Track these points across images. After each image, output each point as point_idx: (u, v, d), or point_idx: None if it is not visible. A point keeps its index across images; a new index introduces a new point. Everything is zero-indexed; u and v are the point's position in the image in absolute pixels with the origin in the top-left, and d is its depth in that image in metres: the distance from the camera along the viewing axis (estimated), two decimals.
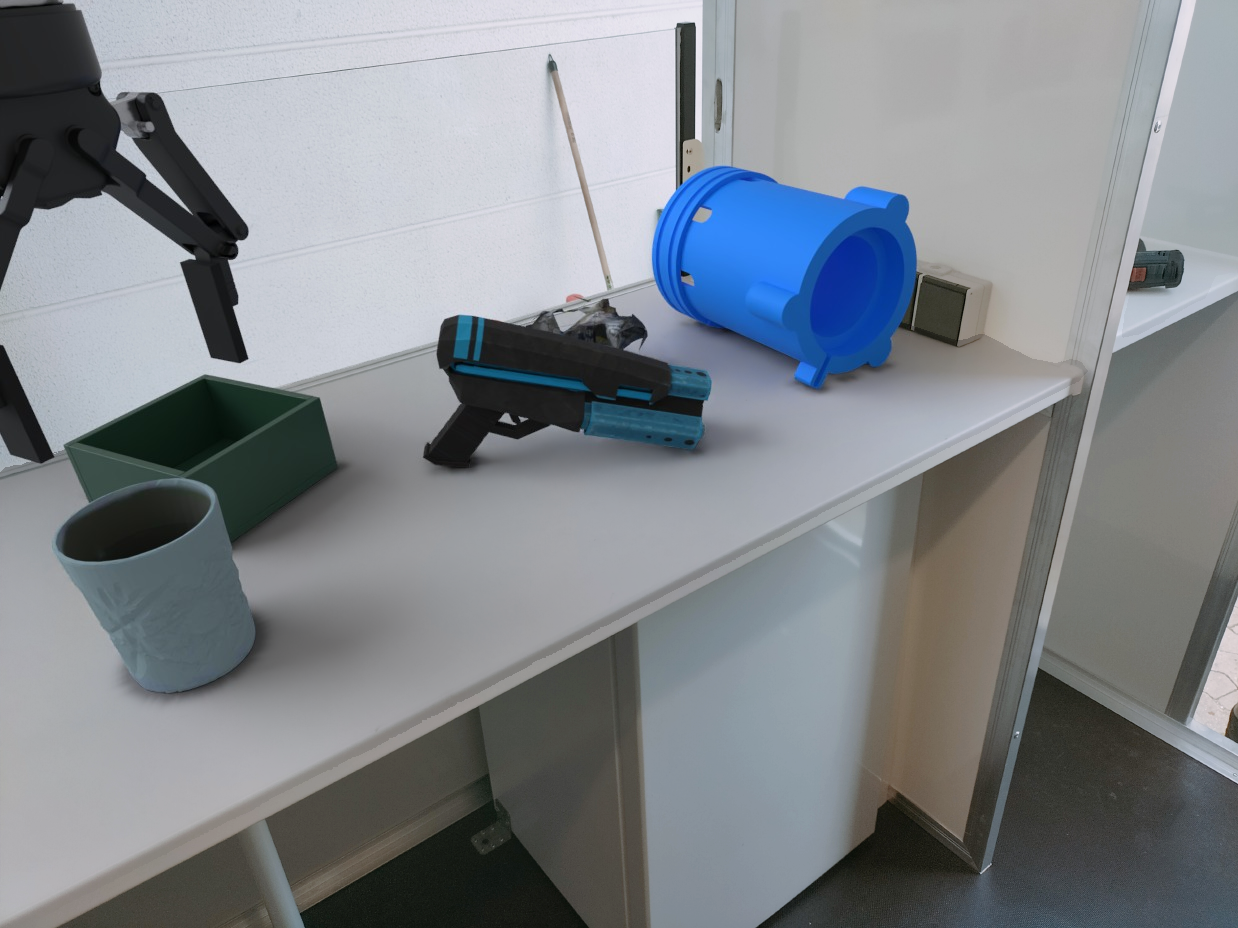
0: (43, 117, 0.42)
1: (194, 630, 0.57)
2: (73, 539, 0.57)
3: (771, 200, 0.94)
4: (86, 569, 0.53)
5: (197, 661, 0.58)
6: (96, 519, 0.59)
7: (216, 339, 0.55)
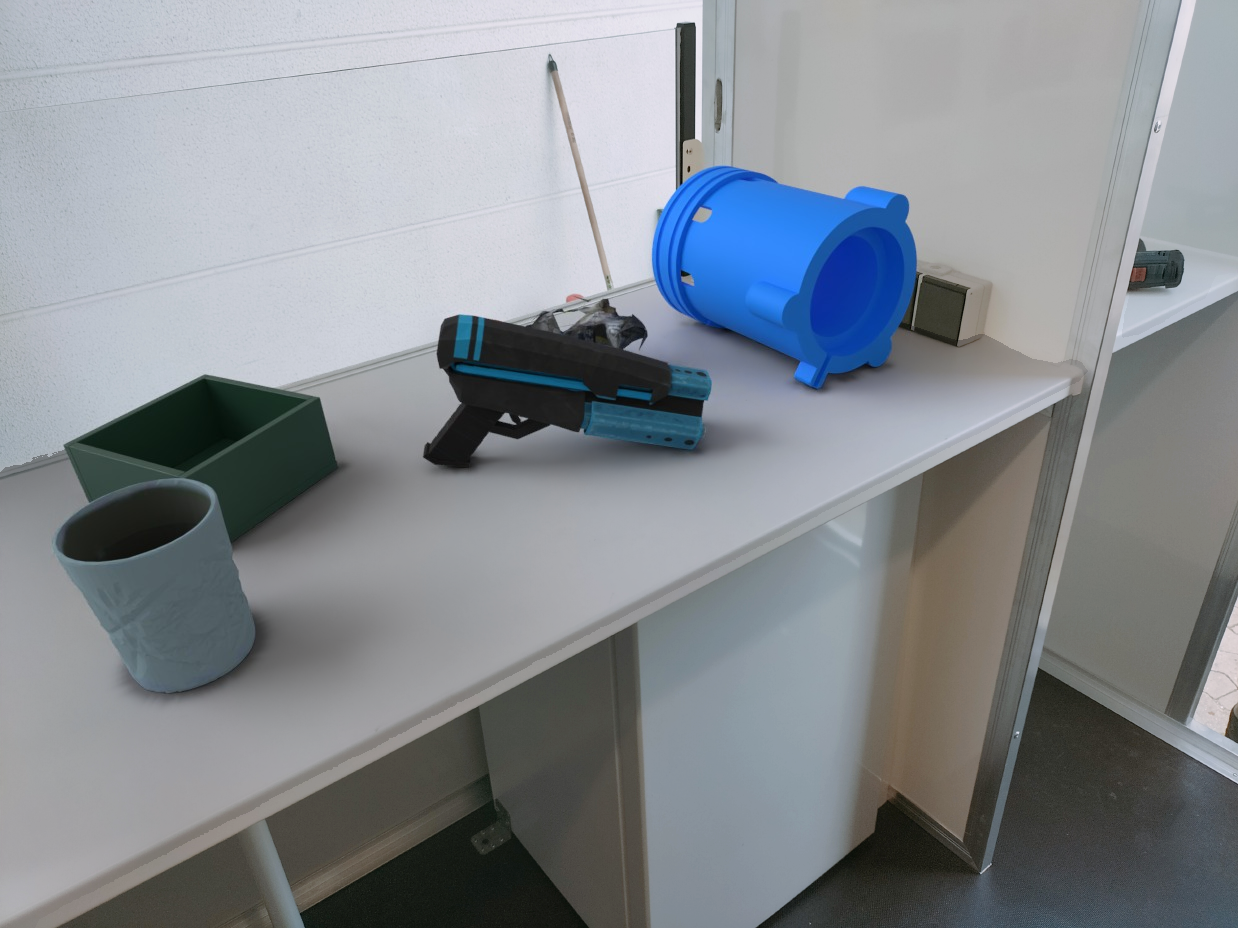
0: None
1: (194, 630, 0.57)
2: (73, 539, 0.57)
3: (771, 200, 0.94)
4: (85, 569, 0.53)
5: (197, 661, 0.58)
6: (96, 519, 0.59)
7: None
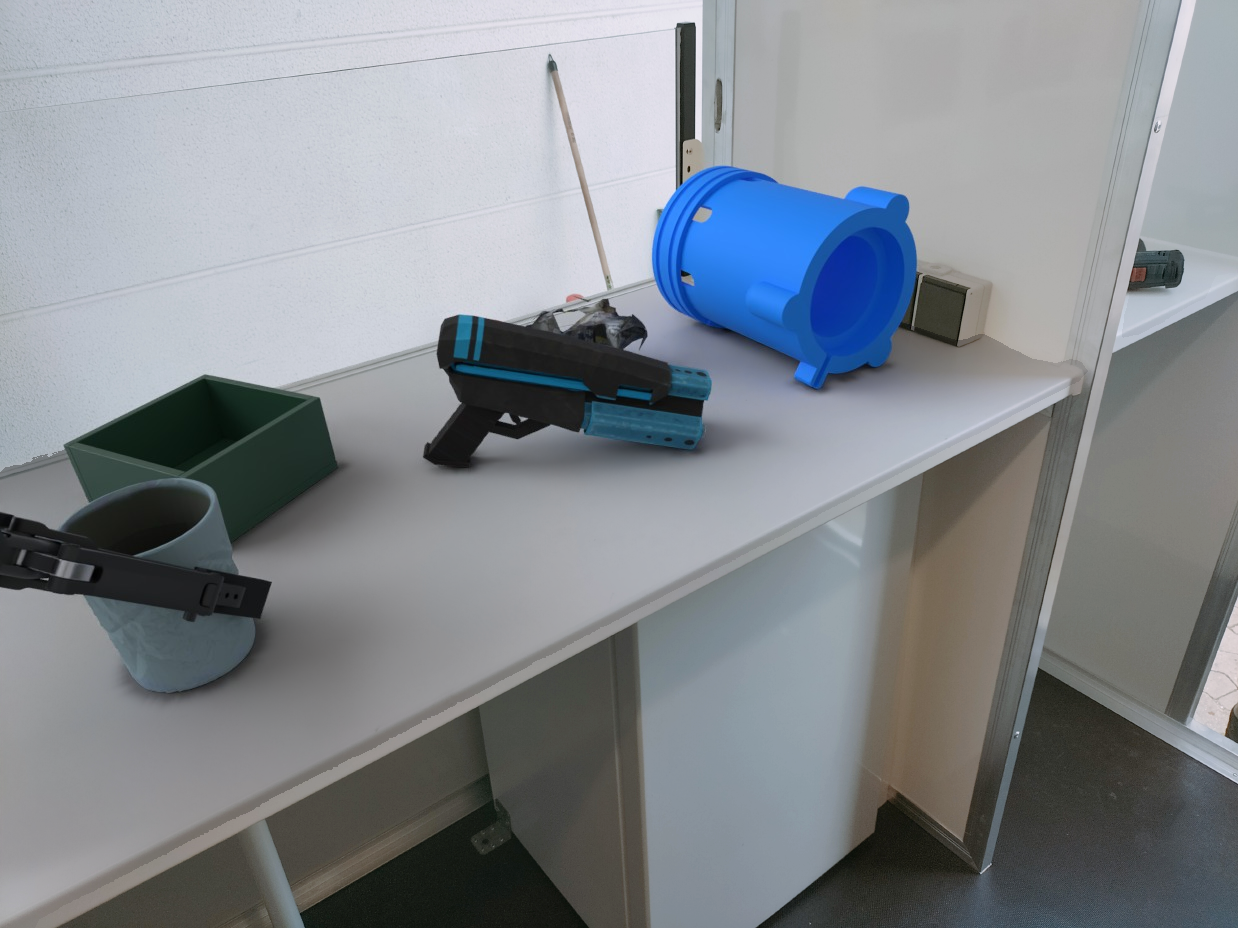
0: None
1: (194, 630, 0.57)
2: None
3: (771, 200, 0.94)
4: None
5: (197, 660, 0.58)
6: (96, 519, 0.59)
7: None
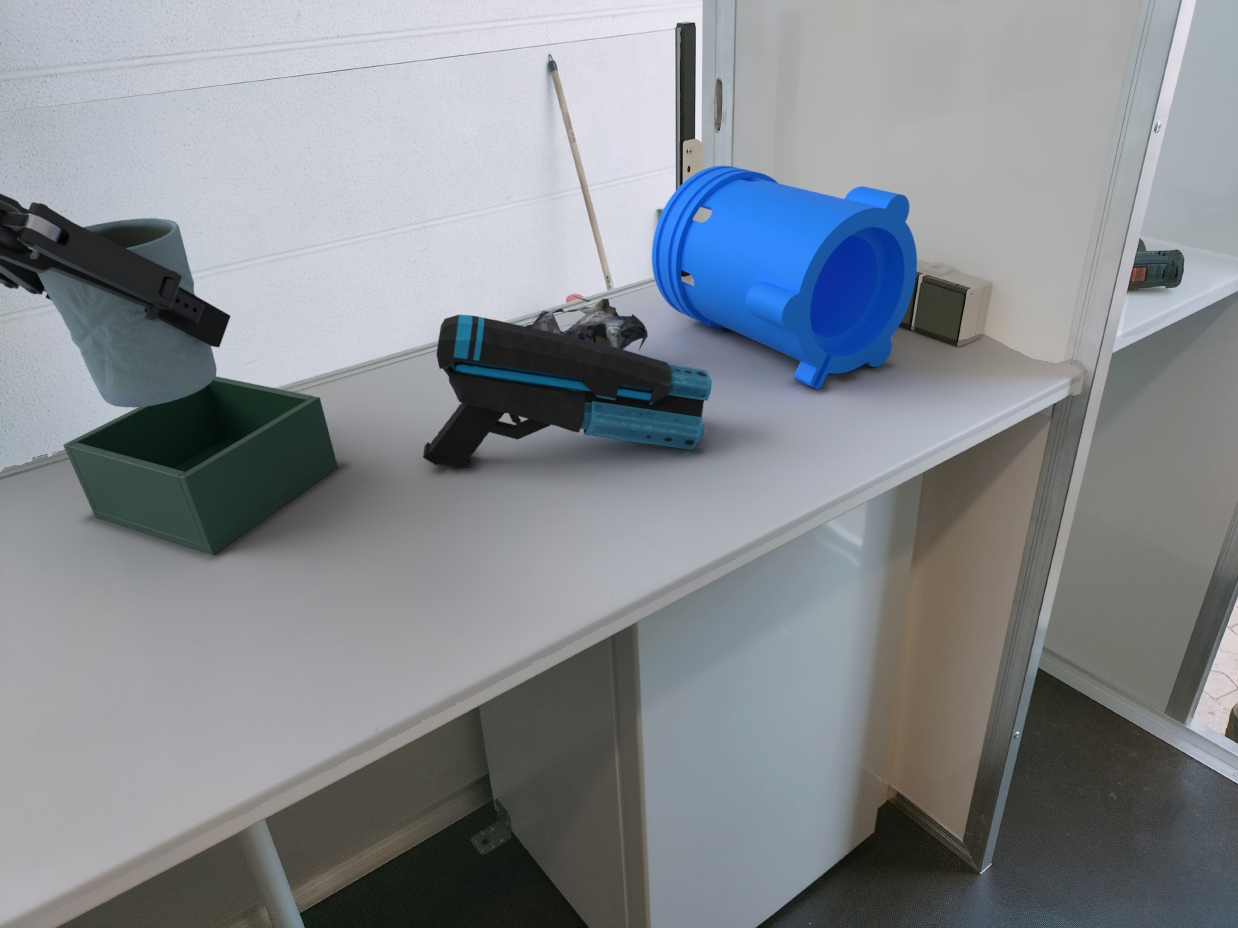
0: None
1: (157, 342, 0.63)
2: None
3: (771, 200, 0.94)
4: None
5: (160, 375, 0.64)
6: None
7: None
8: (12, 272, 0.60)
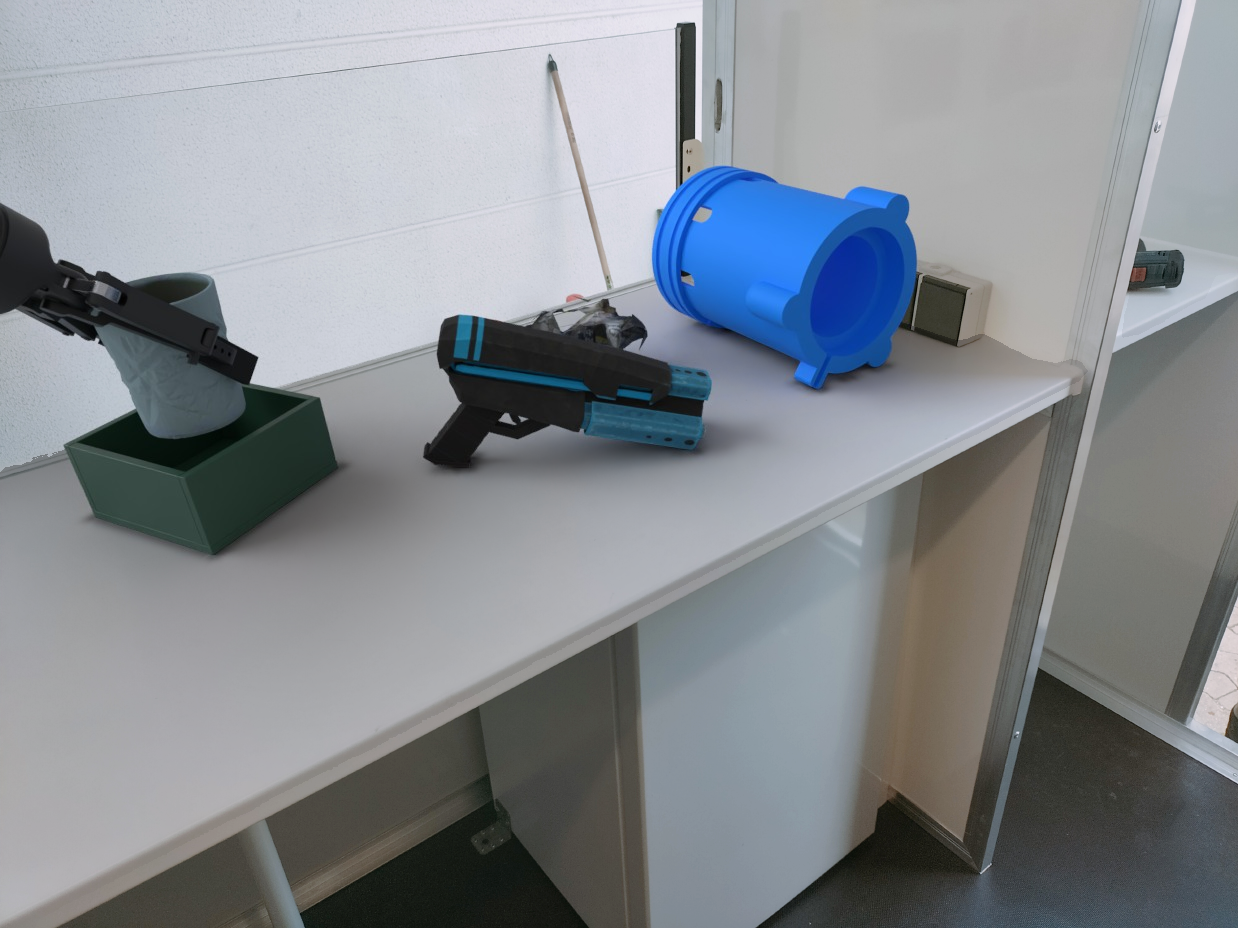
0: None
1: (196, 382, 0.72)
2: None
3: (771, 200, 0.94)
4: None
5: (199, 410, 0.74)
6: None
7: None
8: (72, 324, 0.70)
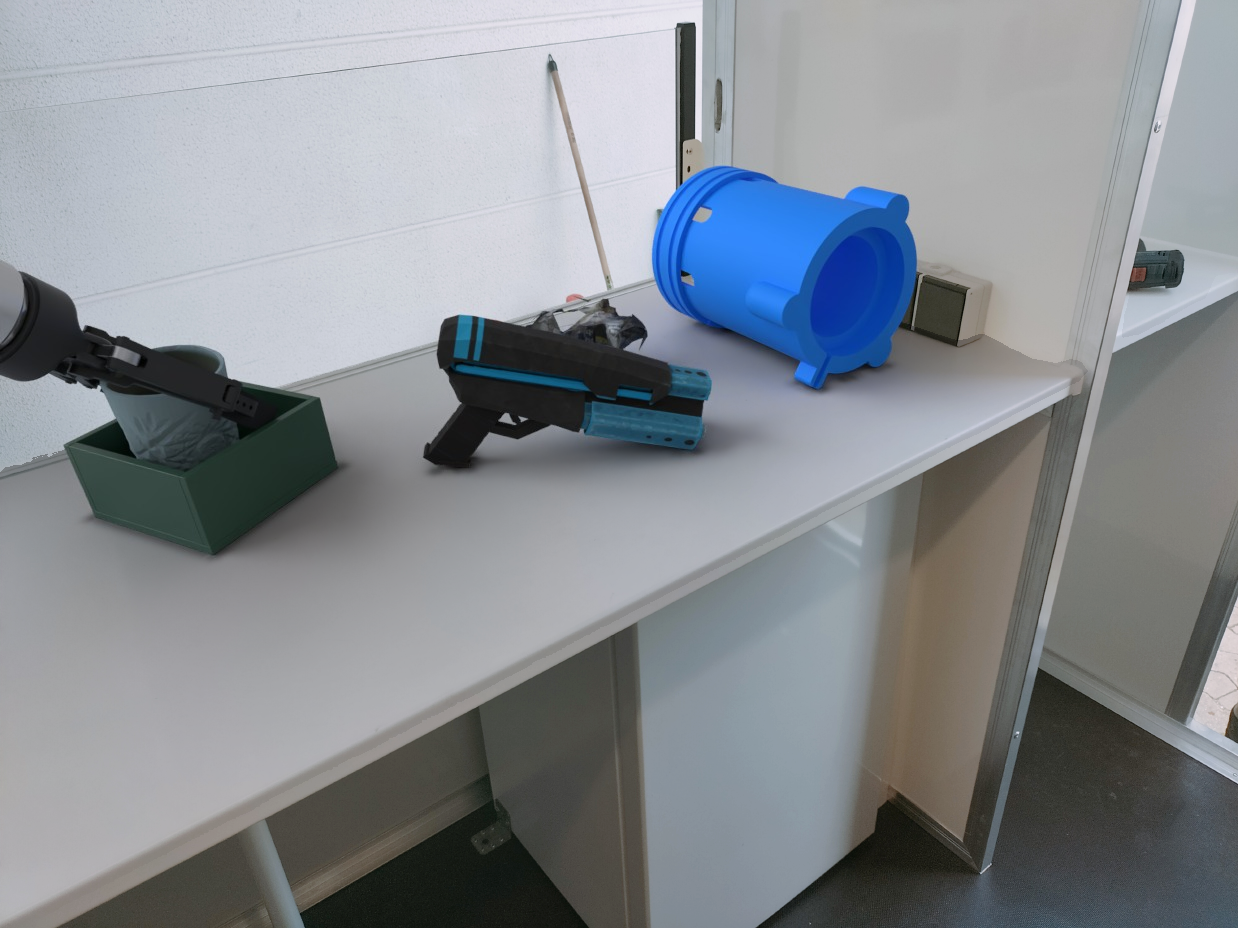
0: None
1: (202, 457, 0.76)
2: None
3: (771, 200, 0.94)
4: (126, 400, 0.71)
5: None
6: None
7: None
8: (84, 378, 0.72)
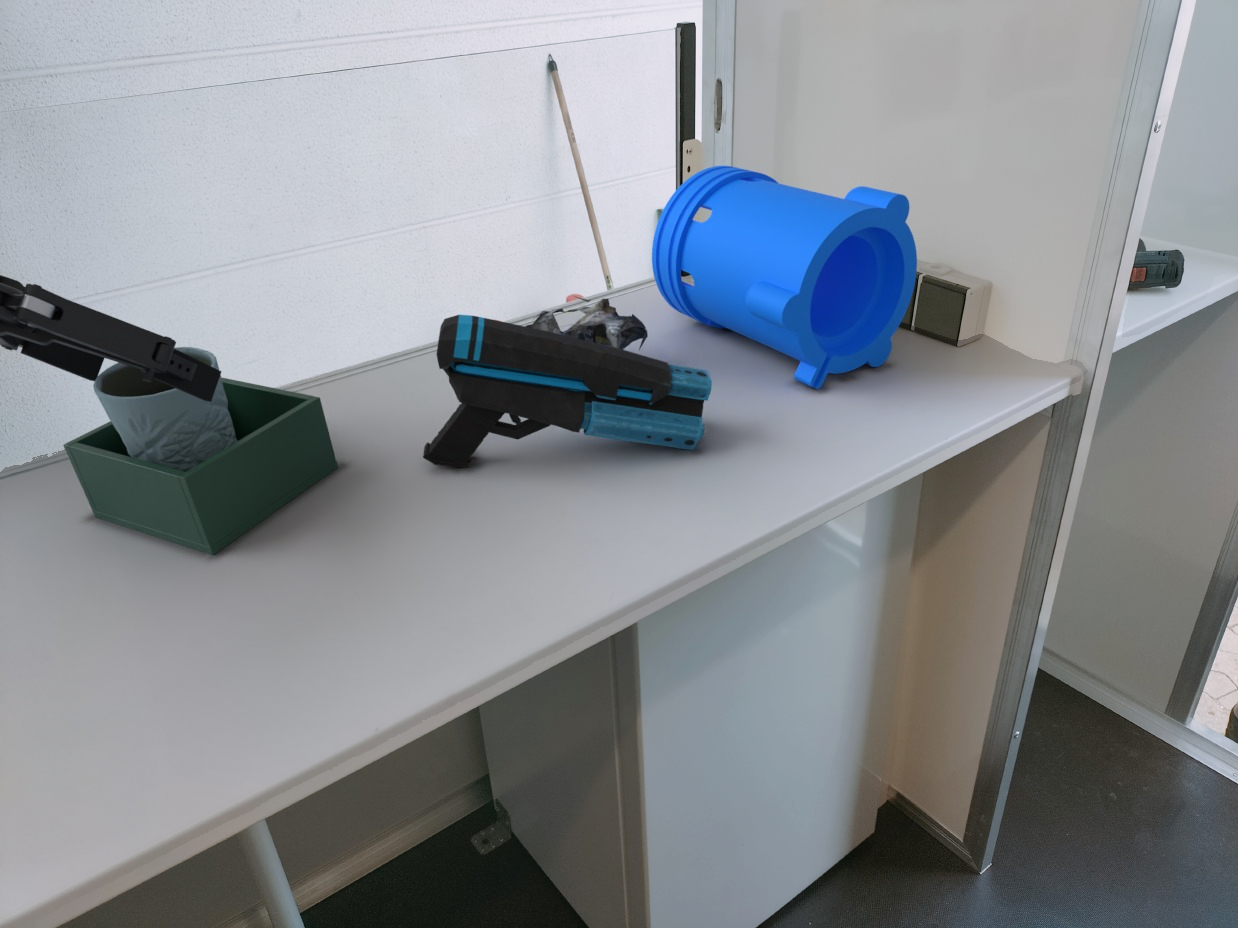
0: None
1: (199, 457, 0.76)
2: (107, 387, 0.76)
3: (771, 200, 0.94)
4: (120, 402, 0.71)
5: None
6: (124, 375, 0.78)
7: None
8: (0, 337, 0.66)
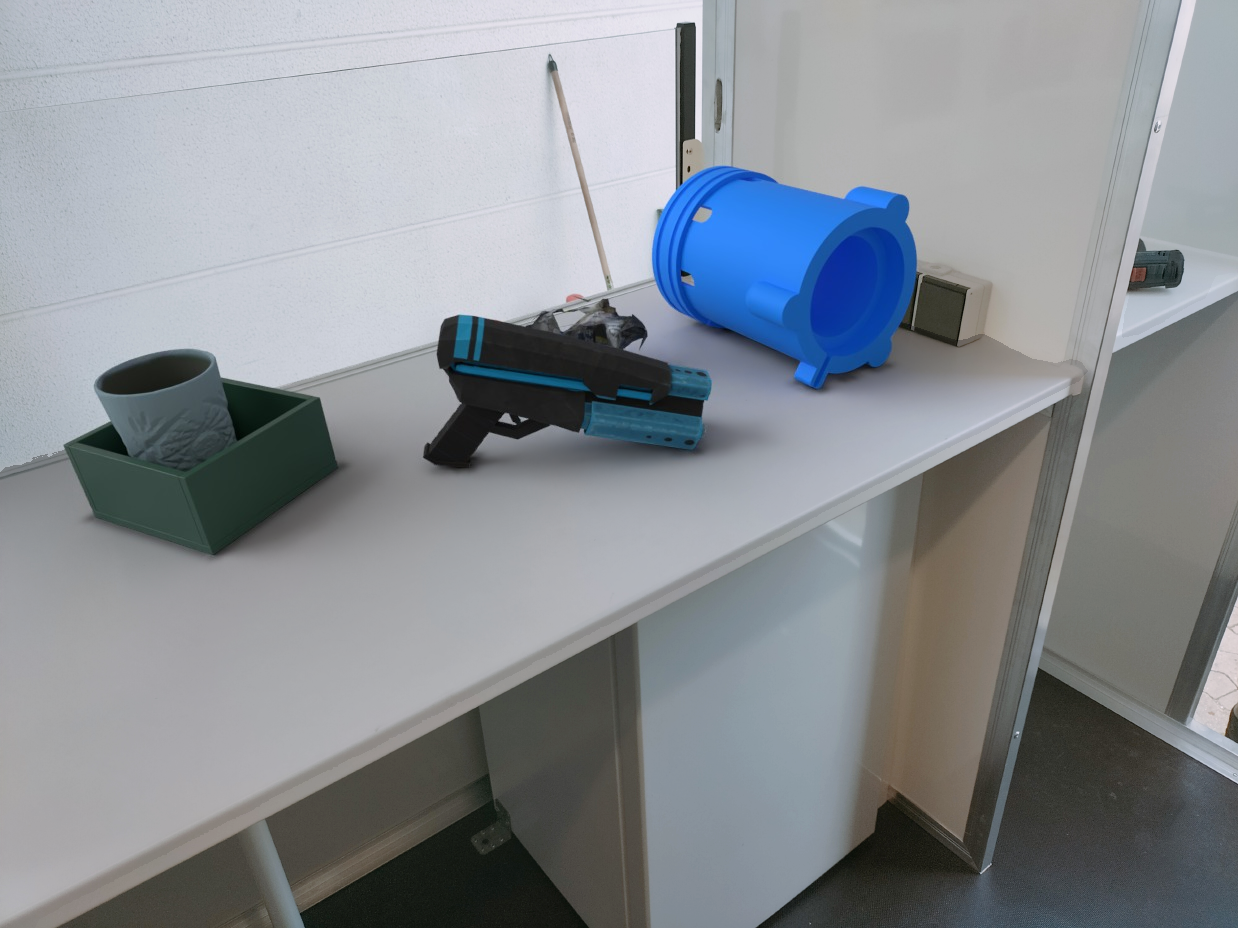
0: None
1: (199, 456, 0.77)
2: (108, 388, 0.76)
3: (771, 200, 0.94)
4: (120, 400, 0.72)
5: None
6: (124, 376, 0.78)
7: None
8: None
